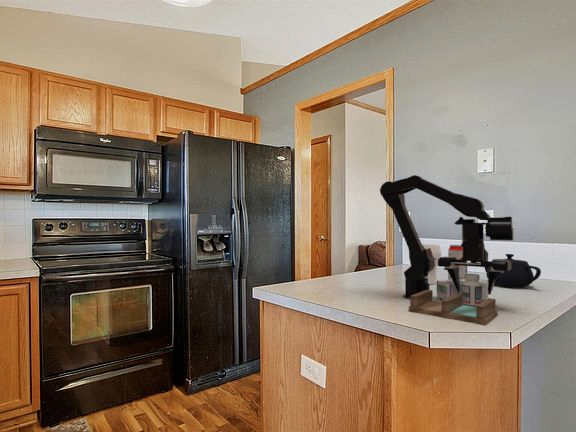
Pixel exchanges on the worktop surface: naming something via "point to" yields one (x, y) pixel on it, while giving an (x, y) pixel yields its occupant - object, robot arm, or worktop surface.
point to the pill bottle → (472, 290)
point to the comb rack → (453, 308)
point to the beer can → (457, 252)
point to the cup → (436, 254)
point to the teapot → (516, 274)
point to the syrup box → (448, 289)
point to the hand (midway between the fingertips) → (473, 292)
